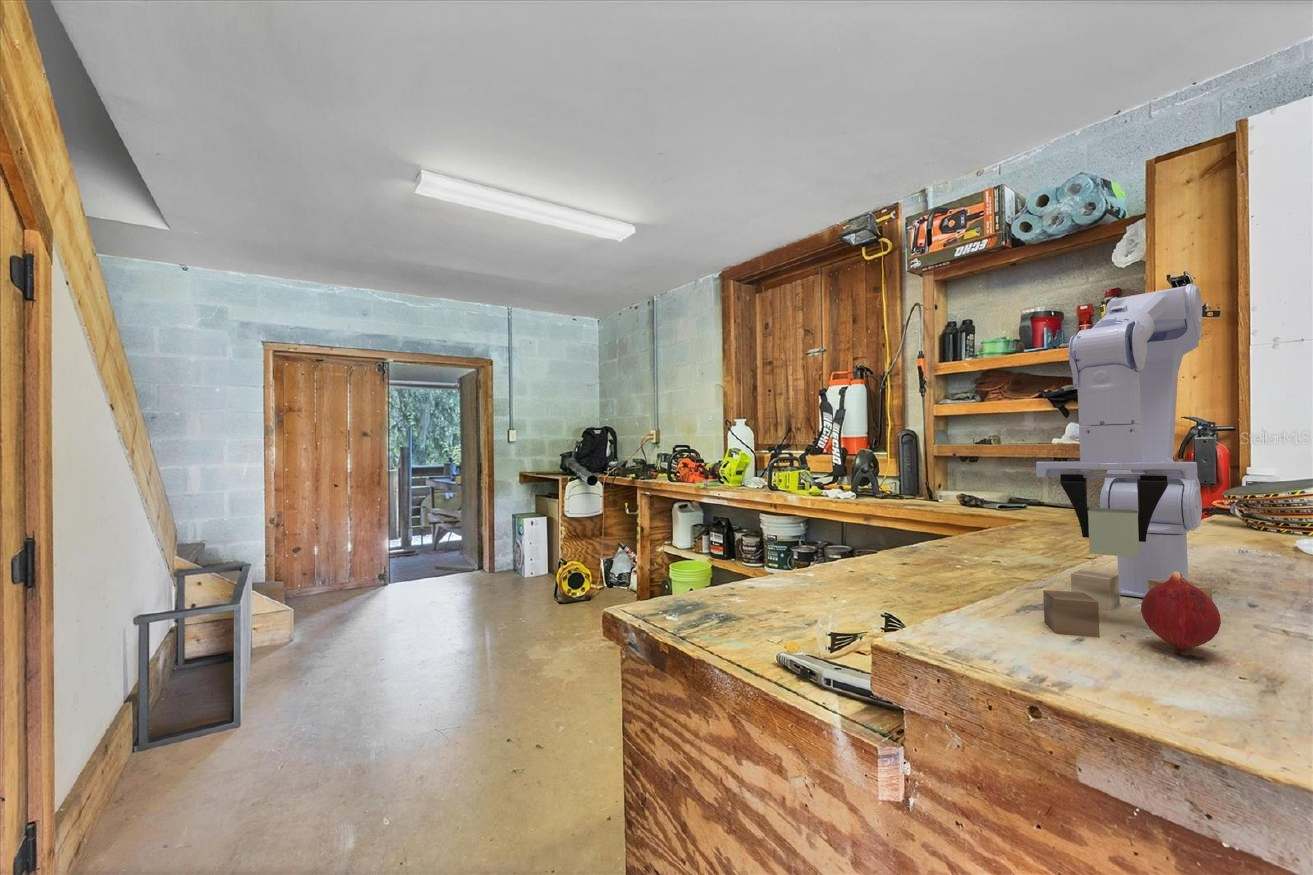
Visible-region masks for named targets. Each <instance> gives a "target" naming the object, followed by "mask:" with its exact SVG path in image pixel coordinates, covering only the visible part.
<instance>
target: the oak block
mask: <svg viewBox="0 0 1313 875" xmlns="http://www.w3.org/2000/svg"><path fill="white" fill-rule="evenodd" d="M1168 580H1169V579H1148V592H1149V591H1150V590H1151V589H1152V588H1154V587H1155V586H1157V585H1159V584H1162V583H1164V582H1166V581H1168ZM1187 582H1188V583H1190V584H1192V585H1193V586H1195V587H1197V588H1199V589H1200V590H1201V591H1203V592H1204V593H1205V594H1206V595H1207V596H1208V597H1209V598H1210V599H1211V600H1212V601H1213V588H1212V587H1211V586H1206V585H1204V584H1201V583H1200V584H1199V583H1195V582H1192V581H1190V580H1188V581H1187Z"/></svg>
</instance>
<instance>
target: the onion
mask: <svg viewBox="0 0 1313 875" xmlns="http://www.w3.org/2000/svg"><path fill="white" fill-rule="evenodd" d="M1142 598H1143V597H1142ZM1140 604H1141V606H1140V612H1141V614H1142V618H1143V620H1144V621H1145V624H1146V625H1147V626H1148V627H1149V629H1150V630H1151V632H1152V633H1154V634H1155V635H1156V636H1157V637H1159V638H1160V639H1161V640H1163V641H1164V642H1165V643H1167V644H1168V645H1170V646H1171V647H1172V649H1175V650H1177V651H1179V652H1181V651H1182V652H1184V651H1188V650H1191V649H1193V648H1196V647H1199V646H1202V645H1204V644H1206V643H1208V642H1210V641H1212V640H1213V638H1214V637H1216V636H1217V634H1218V633H1219V630H1220V627H1221V624H1222V620H1221V614H1220V612H1219V608H1218V607H1217V605H1216V604H1215V602H1214V601H1213V599H1212V600H1211V599H1210V598H1209V597H1208V596H1207V595H1206V594H1205V593H1204V592H1203V591H1201V590H1200V589H1199V588H1197V587H1195V586H1193V585H1192V584H1190V583H1188V582H1187V580H1186V579H1185V578H1184V577H1183V575H1182V574H1181V573H1179V572H1176V571H1174V572H1173V573H1171V577H1170V579H1169V580H1168V581H1166V582H1164V583H1162V584H1159V585H1157V586H1155V587H1154V588H1152V589H1151V590H1150V591H1149V592H1148V593H1147V594H1146V595H1145V596H1144V598H1143V599H1142V600H1141V603H1140Z"/></svg>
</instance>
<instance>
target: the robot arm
mask: <svg viewBox="0 0 1313 875" xmlns="http://www.w3.org/2000/svg"><path fill="white" fill-rule="evenodd" d="M1202 322H1203V299H1202V294H1201V290H1200V287H1199V286H1197V285H1195V284H1194V283H1187V284H1186V285H1183V286H1179V287H1177V286H1176V287H1172V288H1168V289H1166V288H1165V289H1161V290H1157V291H1156V290H1155V291H1151V292H1150V291H1149V292H1145V293H1140V294H1134V295H1128V296H1124V297H1117V296H1116V297H1112V298H1111V299H1110V301H1108V303H1107V304H1106V307H1105V315H1103V316H1102V317H1101V319H1099V320H1098V321H1097V322H1096V324H1095V325H1093V326H1092V328H1088V329H1087V328H1086V329H1082V330H1079V331H1078V333H1077V335H1075V334H1074V335H1072V336H1071V337H1070V339H1069V342H1068V349H1067V350H1068V362H1069V366H1070V369H1071V375H1072V385H1073V389H1074V390H1077V405H1078V406H1077V407H1078V432H1079V433H1078V437H1079V460H1078V461H1076V460H1075V461H1065V460H1064V461H1036V463H1035V469H1036V470H1035V472H1036V473H1035V476H1036V478H1050V477H1051V478H1060V479H1059V480H1060V481H1059V484H1060V485H1061V487H1062V489H1063V491H1064V492H1065V494H1066V496H1067V498H1068V499H1069V501H1070V503H1071V505H1072V507H1073V509H1074V512H1075V514H1076V516H1077V519H1078V522H1079V527H1080V530H1081V536H1082V538H1086V539H1087V538H1088V539H1089V522H1088V510H1089V509H1088V489H1087V488H1088V487H1087V486H1088V485H1087V484H1088V482H1087V478H1097V479H1103V478H1104V482H1103V485H1102V487H1101V490H1100V496H1099V497H1100V498H1099V505H1100V506H1099V508H1108V509H1130V510H1137V513H1138V534H1139V558H1136V557H1125V556H1116V557H1117V574H1118V575H1119V592H1120V595H1121V596H1128V597H1138V598H1144V596H1145V595H1146V594H1147V593H1148V579H1170V577H1171V573H1173V572H1174V571H1176V572H1179V573H1181V574H1182V575H1183V577H1184V578H1185V579H1186V580H1187V581H1189V564H1188V562H1189V561H1188V539H1187V538H1188V536H1187V533H1189V532H1190V531H1195V530H1196V529H1197V528H1198V527H1200V525H1201V522H1202V517H1203V514H1202V513H1203V504H1202V503H1203V502H1202V495H1201V483H1200V480H1199V478H1198V462H1196V461H1175V460H1174V454H1175V453H1174V451H1175V435H1176V433H1175V432H1176V431H1175V430H1176V418H1177V416H1176V414H1177V401H1178V400H1177V398H1178V396H1177V395H1178V382H1179V381H1178V380H1179V378H1178V377H1179V371H1180V367H1181V365H1182V361H1183V357H1184V356H1185V355H1186V354H1188V353H1190V352H1191V351H1194V350H1195V349H1197V348H1199V345H1200V344H1199V343H1200V340H1201V339H1202V324H1203V323H1202ZM1092 470H1095V471H1097V470H1098V471H1101V470H1103V471H1106V472H1105V473H1101V472H1100V473H1099V472H1096V473H1094V472H1092Z"/></svg>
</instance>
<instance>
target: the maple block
mask: <svg viewBox="0 0 1313 875" xmlns="http://www.w3.org/2000/svg"><path fill="white" fill-rule="evenodd" d="M1070 586H1071V587H1070V588H1071V590H1070V592H1084V593H1085V594H1087V595H1088V596H1090V597H1091V598H1093V599H1095V600H1096V601H1098V606H1099V609H1102V610H1106V611H1111V610H1113V609H1116V608H1117V607H1118V606H1120V605H1121V597H1120V592H1119V575H1118V573H1111V572H1105V571H1103V572H1102V571H1096V570H1089V569H1083V568H1081V569H1079V570H1077V571H1073V572H1072V573H1070ZM1119 604H1120V605H1119Z"/></svg>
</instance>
